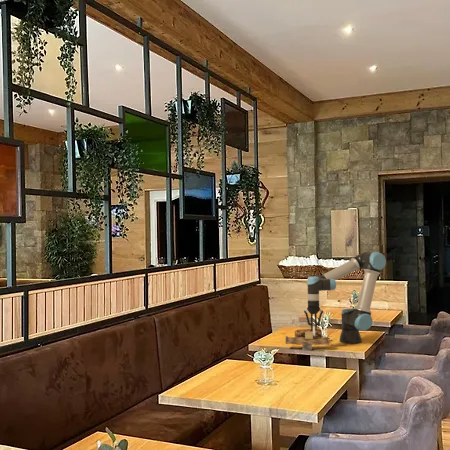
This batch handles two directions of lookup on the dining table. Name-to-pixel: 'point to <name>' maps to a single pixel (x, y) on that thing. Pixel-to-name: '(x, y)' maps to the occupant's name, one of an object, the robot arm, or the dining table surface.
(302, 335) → the bread
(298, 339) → the beam
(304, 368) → the dining table surface
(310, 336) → the block
